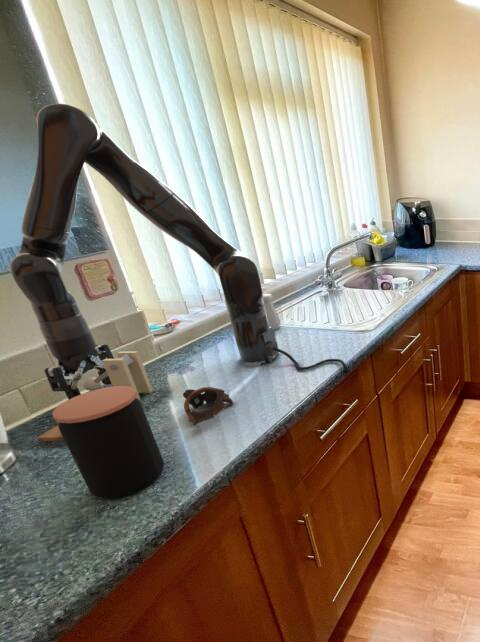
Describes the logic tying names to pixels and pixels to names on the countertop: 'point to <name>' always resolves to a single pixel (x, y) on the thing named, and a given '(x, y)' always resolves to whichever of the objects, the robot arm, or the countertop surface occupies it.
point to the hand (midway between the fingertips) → (93, 392)
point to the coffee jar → (110, 441)
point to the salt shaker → (271, 312)
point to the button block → (52, 435)
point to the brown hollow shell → (209, 396)
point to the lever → (101, 377)
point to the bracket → (128, 372)
